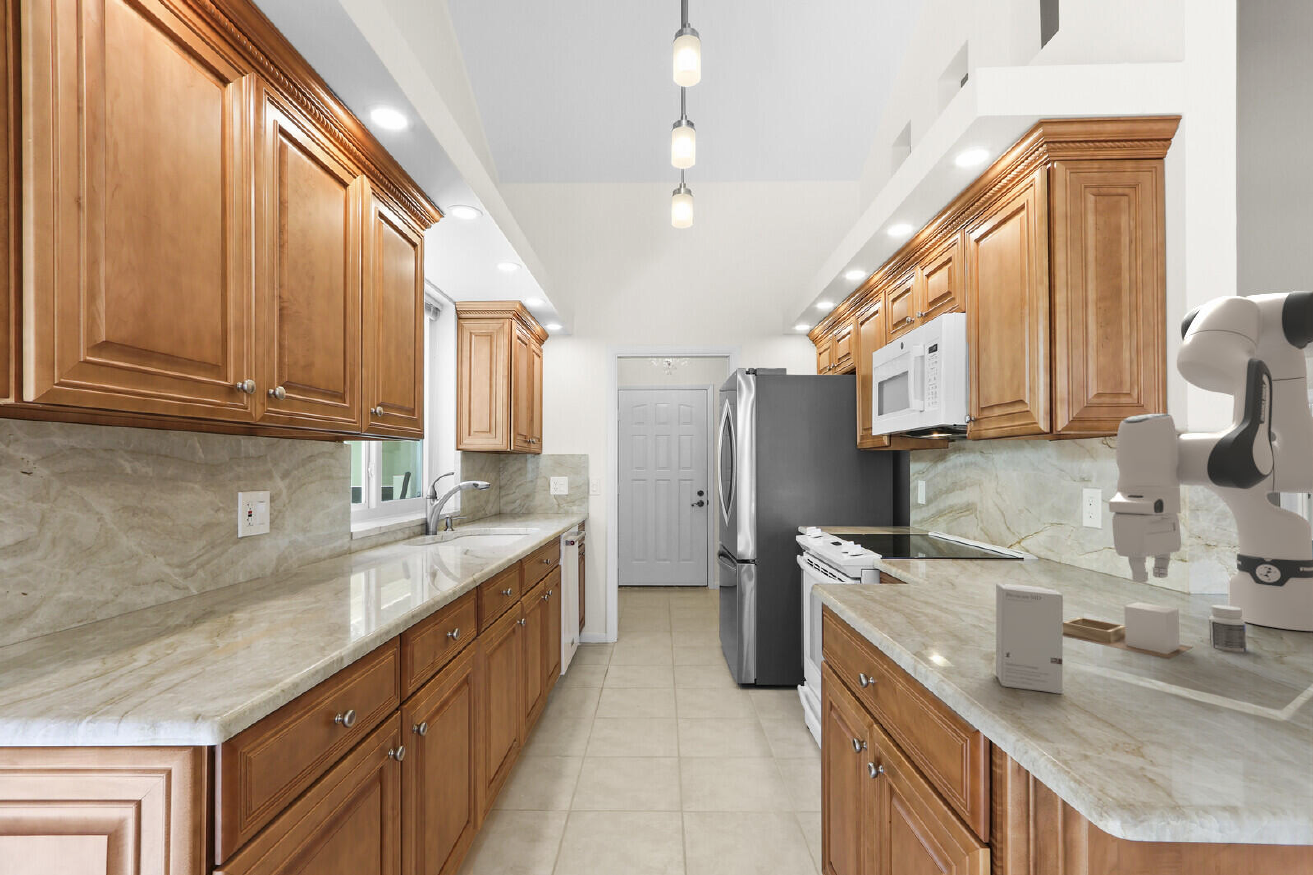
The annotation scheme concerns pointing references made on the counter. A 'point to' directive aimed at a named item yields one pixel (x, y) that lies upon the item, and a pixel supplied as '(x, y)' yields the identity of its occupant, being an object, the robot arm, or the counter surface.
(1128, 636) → the block
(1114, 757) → the counter surface
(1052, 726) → the counter surface
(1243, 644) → the pill bottle
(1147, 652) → the board
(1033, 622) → the skincare box
